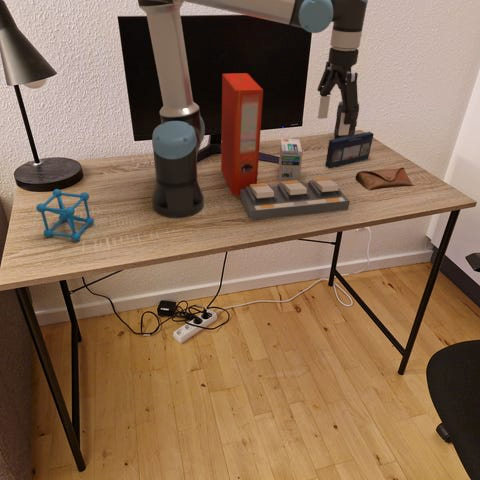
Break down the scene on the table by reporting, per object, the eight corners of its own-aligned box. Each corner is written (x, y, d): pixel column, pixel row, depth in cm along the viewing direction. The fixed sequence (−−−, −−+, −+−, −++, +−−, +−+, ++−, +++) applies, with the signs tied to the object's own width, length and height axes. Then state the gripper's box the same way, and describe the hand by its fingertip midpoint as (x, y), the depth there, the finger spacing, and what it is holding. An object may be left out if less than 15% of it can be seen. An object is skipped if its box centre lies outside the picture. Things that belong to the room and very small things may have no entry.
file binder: (244, 169, 149) (247, 72, 131) (257, 193, 136) (263, 89, 117) (221, 171, 148) (221, 73, 129) (232, 195, 134) (234, 90, 115)
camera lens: (341, 135, 177) (347, 98, 168) (357, 141, 172) (364, 104, 163) (328, 140, 173) (333, 102, 164) (344, 146, 168) (351, 108, 159)
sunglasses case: (367, 191, 139) (365, 170, 138) (356, 192, 145) (354, 172, 145) (415, 185, 143) (414, 165, 142) (403, 186, 150) (401, 167, 149)
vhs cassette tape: (329, 169, 151) (333, 142, 146) (323, 165, 153) (328, 139, 148) (369, 160, 158) (375, 134, 153) (363, 157, 161) (369, 131, 155)
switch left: (257, 198, 123) (257, 192, 122) (249, 189, 130) (249, 184, 129) (273, 196, 124) (273, 190, 123) (265, 188, 131) (265, 182, 130)
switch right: (322, 192, 127) (322, 186, 126) (312, 183, 134) (312, 178, 133) (338, 190, 128) (338, 184, 127) (327, 182, 135) (327, 177, 134)
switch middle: (290, 195, 125) (290, 189, 124) (281, 186, 132) (281, 181, 131) (306, 193, 126) (306, 187, 125) (296, 185, 133) (297, 179, 132)
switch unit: (250, 220, 123) (251, 206, 120) (240, 197, 133) (240, 184, 130) (348, 209, 129) (350, 196, 126) (330, 189, 139) (332, 176, 137)
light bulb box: (299, 182, 143) (303, 151, 136) (279, 181, 143) (282, 150, 136) (297, 167, 151) (300, 138, 145) (277, 167, 151) (280, 137, 145)
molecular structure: (62, 218, 121) (54, 186, 115) (96, 223, 119) (89, 191, 114) (42, 238, 113) (33, 205, 107) (78, 243, 111) (70, 210, 106)
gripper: (382, 58, 105) (365, 141, 117) (336, 37, 124) (325, 111, 136) (354, 59, 103) (340, 143, 115) (312, 38, 122) (303, 112, 134)
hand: (332, 126), depth 126 cm, fingers open, 13 cm apart
